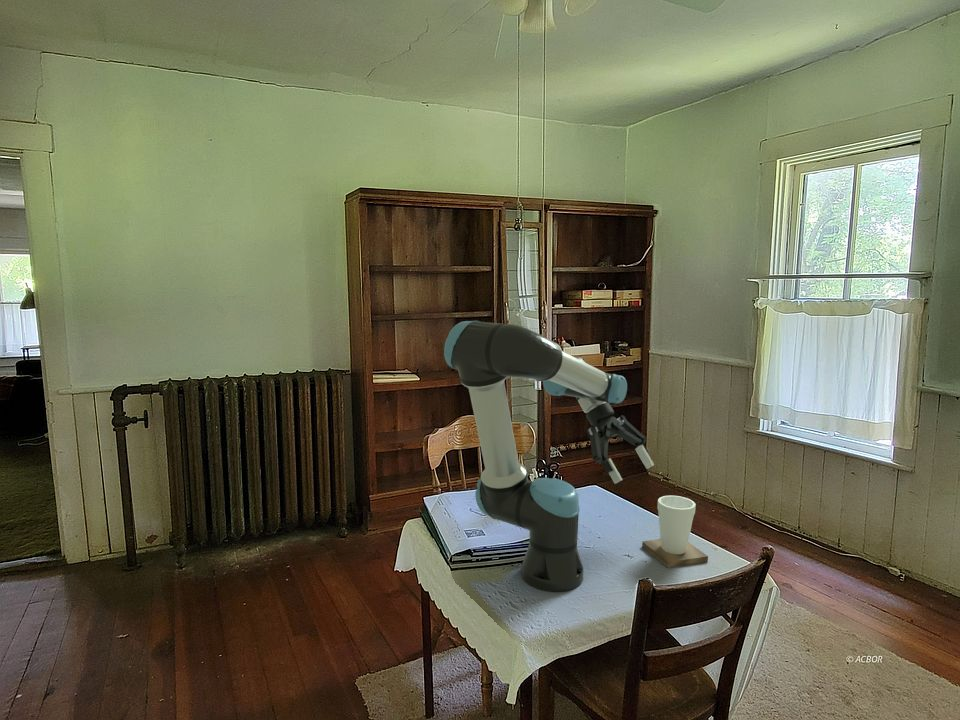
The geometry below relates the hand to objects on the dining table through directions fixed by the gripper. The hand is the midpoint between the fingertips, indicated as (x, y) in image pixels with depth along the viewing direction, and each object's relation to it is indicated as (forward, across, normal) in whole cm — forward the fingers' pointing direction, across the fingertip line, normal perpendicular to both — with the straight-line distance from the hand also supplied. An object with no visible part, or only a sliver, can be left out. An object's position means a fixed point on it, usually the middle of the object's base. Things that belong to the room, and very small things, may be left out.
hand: (635, 474), depth 166 cm
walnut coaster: (+23, 0, -2) cm, 23 cm away
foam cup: (+22, 0, -1) cm, 22 cm away
